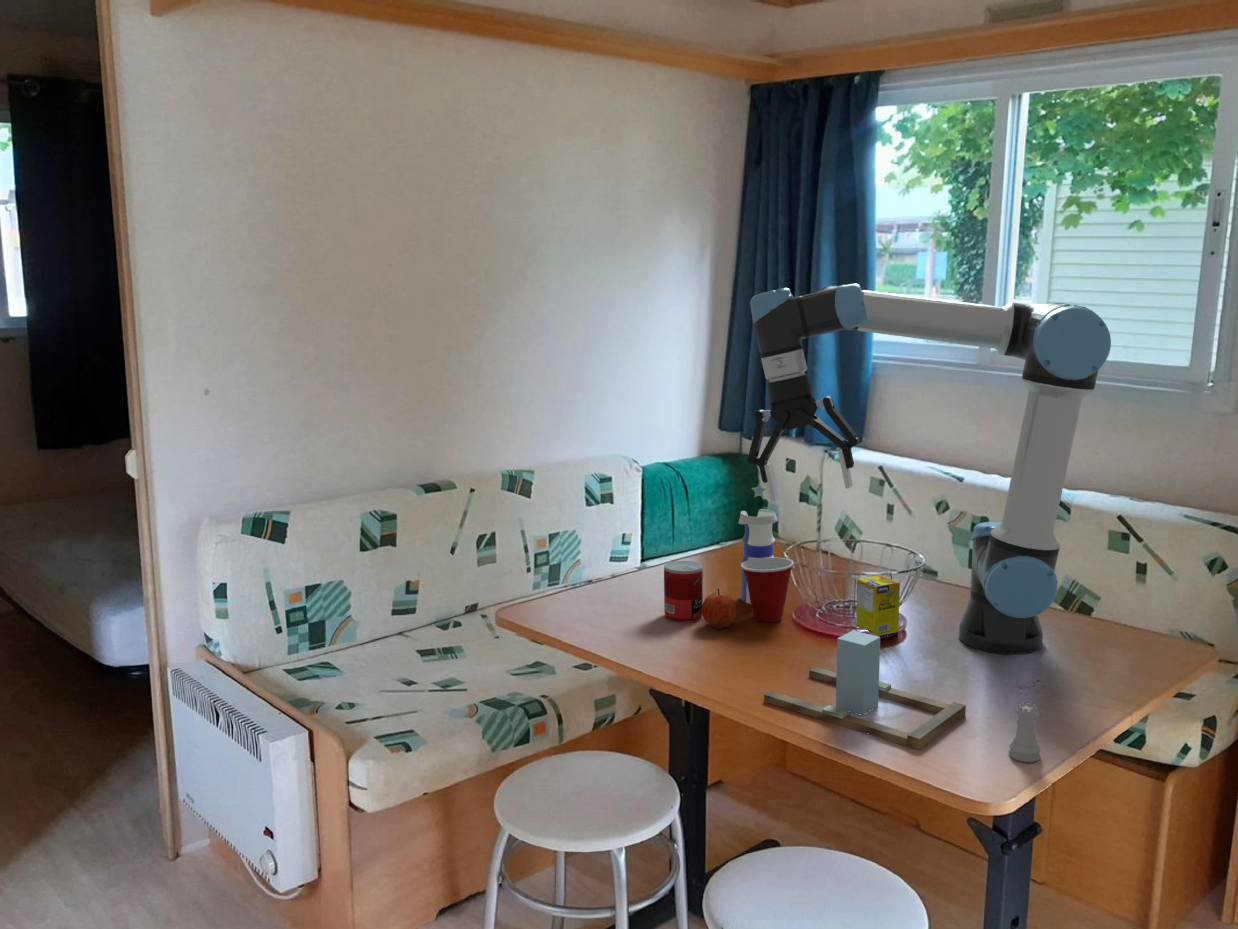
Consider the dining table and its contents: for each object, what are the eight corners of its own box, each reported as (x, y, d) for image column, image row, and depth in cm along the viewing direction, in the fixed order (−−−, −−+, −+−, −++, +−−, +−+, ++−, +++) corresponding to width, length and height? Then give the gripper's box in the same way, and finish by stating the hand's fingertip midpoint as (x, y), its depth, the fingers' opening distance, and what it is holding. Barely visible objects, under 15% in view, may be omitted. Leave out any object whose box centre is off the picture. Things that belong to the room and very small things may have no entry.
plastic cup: (758, 606, 227) (758, 551, 225) (802, 615, 220) (803, 560, 218) (730, 619, 219) (730, 563, 217) (775, 630, 212) (776, 572, 210)
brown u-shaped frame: (764, 701, 178) (764, 691, 178) (815, 673, 190) (815, 663, 190) (919, 750, 160) (919, 739, 160) (965, 715, 172) (965, 705, 171)
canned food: (700, 623, 217) (700, 571, 215) (661, 621, 218) (661, 570, 216) (704, 611, 224) (704, 561, 222) (667, 609, 226) (667, 559, 224)
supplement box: (899, 636, 208) (900, 582, 206) (874, 641, 206) (876, 586, 203) (879, 626, 213) (880, 574, 211) (855, 631, 211) (856, 578, 209)
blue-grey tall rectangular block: (835, 707, 176) (837, 638, 173) (851, 698, 179) (853, 630, 177) (862, 715, 172) (864, 645, 170) (878, 706, 176) (880, 637, 174)
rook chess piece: (1033, 749, 160) (1036, 699, 158) (1045, 763, 155) (1048, 712, 154) (1003, 750, 159) (1006, 700, 158) (1015, 764, 155) (1018, 713, 154)
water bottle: (731, 595, 234) (731, 484, 230) (766, 591, 237) (767, 481, 232) (746, 606, 227) (747, 492, 222) (783, 602, 229) (784, 488, 225)
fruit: (742, 629, 213) (742, 591, 211) (711, 634, 210) (711, 595, 209) (726, 619, 219) (726, 581, 218) (696, 623, 217) (695, 586, 215)
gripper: (715, 393, 191) (740, 507, 193) (852, 364, 181) (877, 485, 182) (727, 389, 198) (752, 499, 200) (860, 360, 187) (884, 477, 189)
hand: (812, 493), depth 191 cm, fingers open, 13 cm apart
